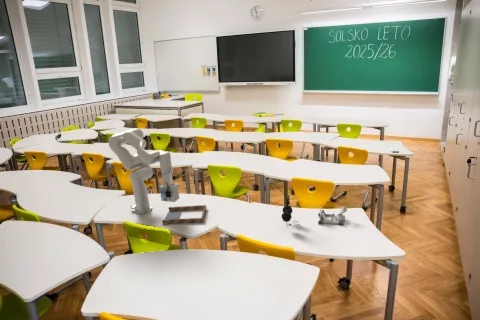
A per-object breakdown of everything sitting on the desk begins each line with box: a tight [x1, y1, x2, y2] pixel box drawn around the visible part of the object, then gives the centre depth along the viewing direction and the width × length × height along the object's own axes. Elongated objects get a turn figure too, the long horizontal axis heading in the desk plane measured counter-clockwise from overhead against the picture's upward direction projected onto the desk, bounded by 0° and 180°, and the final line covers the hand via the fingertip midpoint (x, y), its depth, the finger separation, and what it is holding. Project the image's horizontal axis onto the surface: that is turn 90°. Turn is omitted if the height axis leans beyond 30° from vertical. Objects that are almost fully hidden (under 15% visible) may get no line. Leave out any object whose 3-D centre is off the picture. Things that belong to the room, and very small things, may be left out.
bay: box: [161, 204, 207, 225], centre depth 233 cm, size 28×21×3 cm
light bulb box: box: [159, 183, 180, 203], centre depth 228 cm, size 11×7×11 cm, turn 71°
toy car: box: [317, 205, 348, 226], centre depth 213 cm, size 18×10×12 cm
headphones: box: [281, 194, 301, 228], centre depth 209 cm, size 15×11×20 cm
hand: (169, 194), depth 229 cm, fingers closed on light bulb box, 8 cm apart
